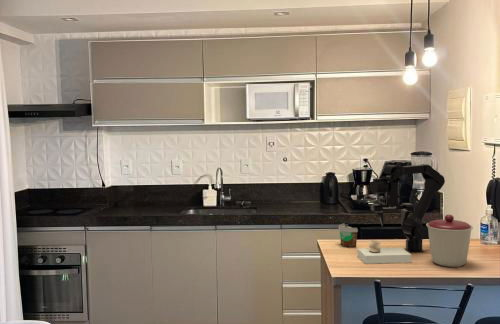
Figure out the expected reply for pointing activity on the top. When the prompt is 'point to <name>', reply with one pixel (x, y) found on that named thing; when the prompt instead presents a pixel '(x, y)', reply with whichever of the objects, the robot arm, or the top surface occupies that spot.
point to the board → (384, 256)
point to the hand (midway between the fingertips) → (392, 225)
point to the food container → (348, 236)
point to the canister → (449, 241)
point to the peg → (374, 246)
